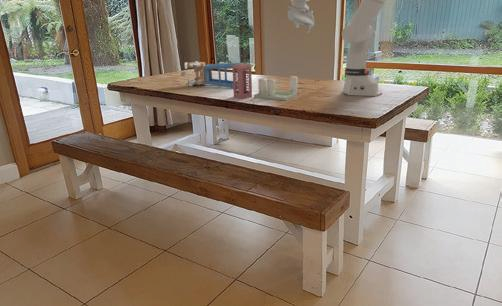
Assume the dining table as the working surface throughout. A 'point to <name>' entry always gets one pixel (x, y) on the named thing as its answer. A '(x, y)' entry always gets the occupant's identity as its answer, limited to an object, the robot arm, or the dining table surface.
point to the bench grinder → (209, 74)
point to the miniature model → (242, 81)
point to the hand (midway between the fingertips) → (303, 29)
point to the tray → (277, 95)
